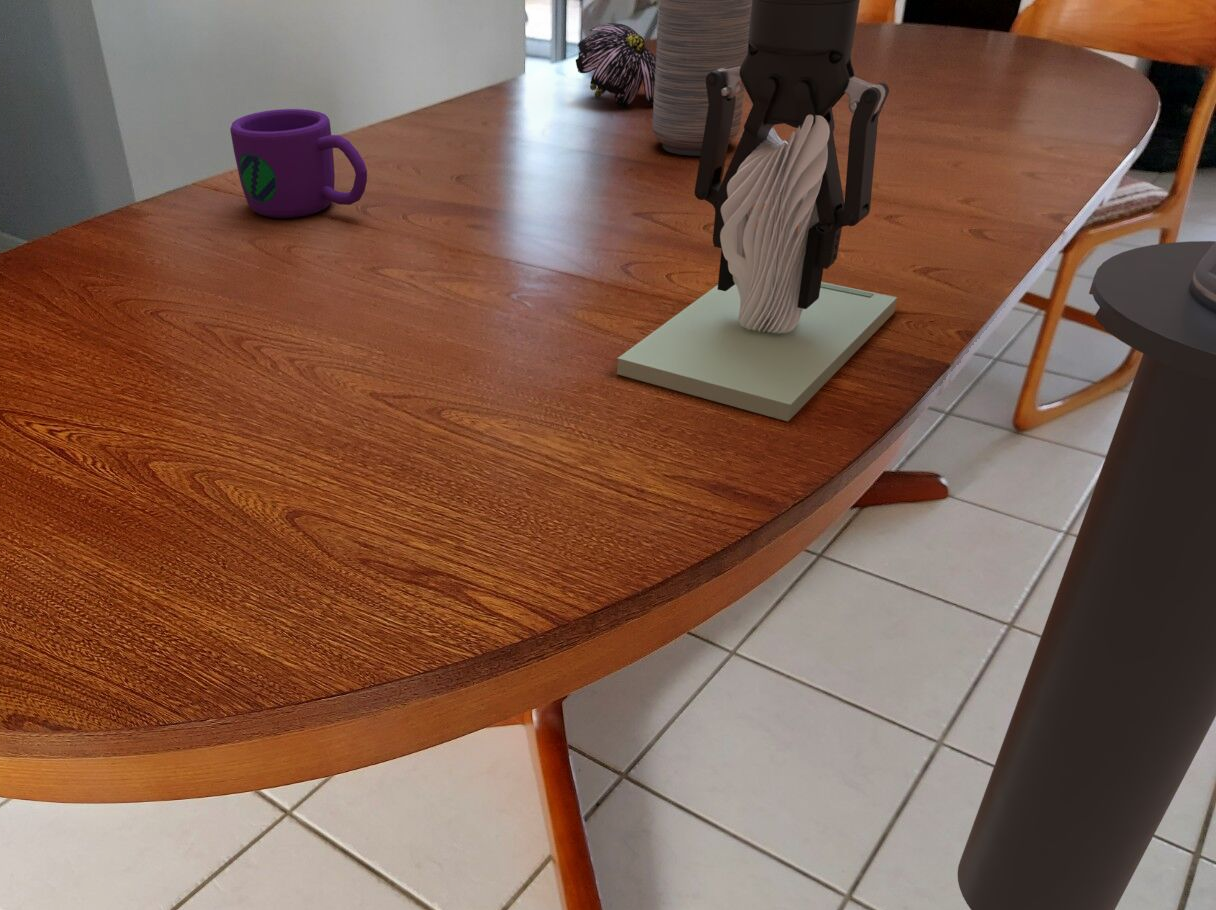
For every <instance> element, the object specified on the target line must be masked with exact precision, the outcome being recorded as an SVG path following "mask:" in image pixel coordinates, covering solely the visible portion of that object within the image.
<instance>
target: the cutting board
mask: <svg viewBox="0 0 1216 910" xmlns="http://www.w3.org/2000/svg"><path fill="white" fill-rule="evenodd" d="M897 302H898V297H897V296H894V295H893V296H892V295H889V294H883V293H878V292H873V291H868V290H863V289H859V288H853V287H849V286H845V285H844V286H843V285H839V284H834V283H829V282H825V281H821V287H820V293H819V298H818V299H817V300H816V301H815V302H814V303H813V304H812V305H810V306H809V307H808V308H807V309H803V311H802V314H801V316H800V319H799V321H798V323H797V325H796V327H795V328H794V329H793V330H792V331H790V332H788V333H771V332H769V333H768V332H767V329H766V330H765V331H764V332H763V330H764V329H765V327H766V325H767V323H768V320H767V322H766V324H765V327H764V329H763V330H762V331H760V332H759V331H758V330H757V331H754V330H748V329H747V328H744V327H742V326H741V325H740V323H739V321H738V317H739V312H740V295H739V292H738V287H737V286H736V284H735V285H734V286H732V287H731V288H730V289H728V290H727V291H721V290H718V284H717V285H715V286H714V287H713V288H711V289H709V290H708V291H707V292H706V293H704V294H703V295H701V296H699V298H698V299H696V300H694V301H693V302H692V303H690V304H689V305H688V306H686V307H685V308H684V309H682V310H681V311H679V312H678V313H677V314H676V315H674V316H673V317H671V318H670V319H669V320H667V321H666V322H665V323H664V324H662V325H660V327H658V328H656V329H655V330H654V331H652V332H651V333H649V334H648V335H647V336H646V337H644V338H643V339H641V340H640V341H639V342H637V343H636V344H635V345H633V346H632V347H630V348H629V349H628V350H627V351H625V352H624V353H623V354H621V355H620V356H618V357H617V362H616V363H617V365H616V375H618V376H622V377H625V378H629V379H632V380H636V381H640V382H643V383H647V384H651V385H655V386H658V387H661V388H665V389H668V390H672V391H675V392H680V393H683V394H687V395H691V396H693V397H697V398H701V399H705V400H708V401H712V402H715V403H719V404H723V405H726V406H730V407H734V408H737V409H740V410H744V411H748V412H752V413H755V414H759V415H763V416H766V417H770V418H773V419H776V420H781V421H785V422H788V423H789V422H790V420H791V419H792V418H793V417H794V416H795V415H796V414H797V413H798V412H800V410H801V409H802V408H803V407H804V406H805V405H806V404H807V403H808V402H810V400H811V399H812V398H813V397H814V396H815V395H816V394H817V393H818V392H819V391H820V389H822V387H824V386H825V384H826V383H827V382H828V381H830V379H832V377H834V375H835V374H836V373H837V372H838V371H839V370H840V369H841V368H842V367H843V366H844V365H845V364H846V363H847V362H848V361H849V360H850V359H851V358H852V357H853V356H854V355H855V354H856V353H857V352H858V351H859V349H861V348H862V347H863V345H864V344H865V343H866V342H867V341H868V340H869V339H870V338H871V337H872V336H873V335H874V334H875V333H876V332H877V331H879V330H880V328H881V327H882V326H883V325H884V324H885V323H886V322H887V321H888V320H889V319H890V318H891V317H892V316H893V315H894V313H895V312H896V308H897V307H896V306H897ZM769 316H770V315H769ZM766 317H767V316H766ZM767 328H768V327H767Z"/></svg>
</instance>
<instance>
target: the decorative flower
mask: <svg viewBox="0 0 1216 910" xmlns="http://www.w3.org/2000/svg"><path fill="white" fill-rule="evenodd" d="M589 32H595V33H594V34H591V35H589V36H587V37H585V38H583V39H582V40H581V41H579V42H578V43H577V44H576V46H577V47H578V50H579V52H578V57H577V58H576V59H575V65H576V69H577V73H579V74H588V73H590V72H592V71H594V72H593V74H592V77H591V80H590V83H589V84H590V85H589V88H590V90H591V91H595V92H594V97H595V98H598V99H599V98H601V96H602V95H604V94H605V92H608V93H610V94H614V97H615V99H616V102H615V105H616V106H618V107H620V108H622V109H623V110H624V109H626V108H628V107H629V106H631V104H632V103H633V102H634V101H635V99H636V97H637V96H638V94H639V92H640V89H641V86H642V84H643V90H644V98H645V102H646V105H647V107H649V106H651V105H653V103H654V84H655V65H656V55H654V53H652V52H651V51H650V50H649V49H648V47H647V46H646V44H645V39H644V37H642V35H640V34H639V33H638V32H637V31H636V30H635V29H633V28H632V27H630V26H628V25H626V24H623V23H616V22H609V23H604V24H603V23H602V24H600V25H597V26H595V27H593V28H591V29H589Z"/></svg>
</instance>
